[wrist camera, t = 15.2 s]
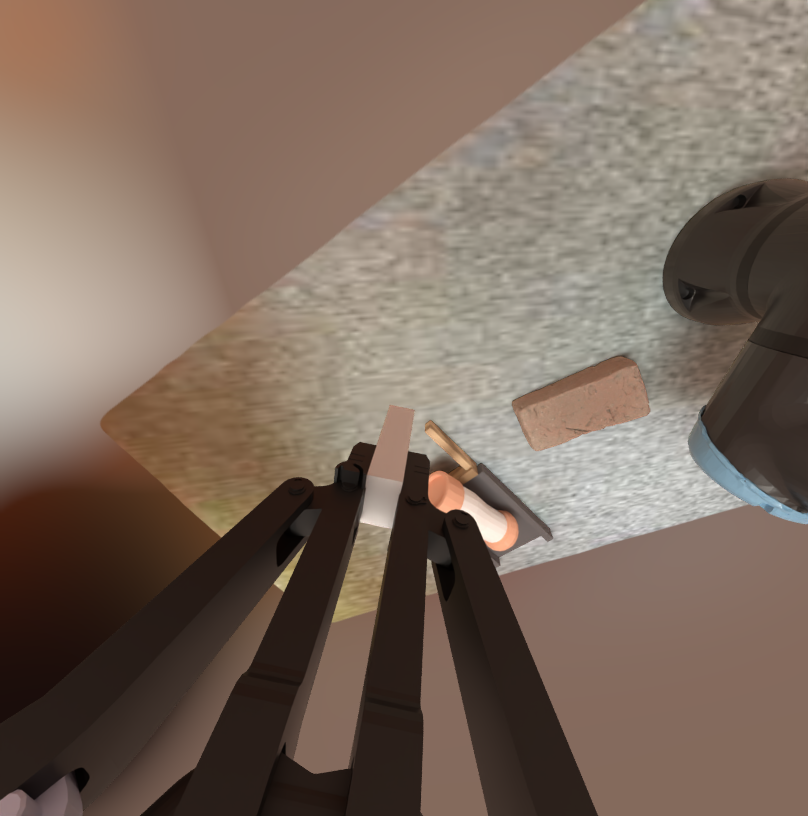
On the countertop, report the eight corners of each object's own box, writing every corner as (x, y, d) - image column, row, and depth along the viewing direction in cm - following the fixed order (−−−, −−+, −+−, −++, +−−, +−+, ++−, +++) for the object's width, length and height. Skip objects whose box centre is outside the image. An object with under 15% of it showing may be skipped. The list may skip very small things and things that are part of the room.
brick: (527, 440, 52) (535, 457, 48) (508, 399, 49) (514, 413, 45) (635, 399, 47) (654, 413, 43) (621, 351, 45) (640, 361, 40)
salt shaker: (447, 462, 50) (522, 509, 58) (417, 482, 54) (490, 523, 62) (449, 503, 45) (531, 549, 52) (415, 521, 49) (496, 562, 56)
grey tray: (426, 499, 60) (426, 508, 58) (481, 462, 55) (483, 471, 53) (493, 557, 65) (495, 567, 63) (549, 528, 60) (553, 538, 58)
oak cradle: (383, 457, 56) (381, 467, 54) (430, 419, 52) (430, 429, 49) (428, 496, 59) (427, 507, 57) (476, 463, 55) (478, 474, 52)
